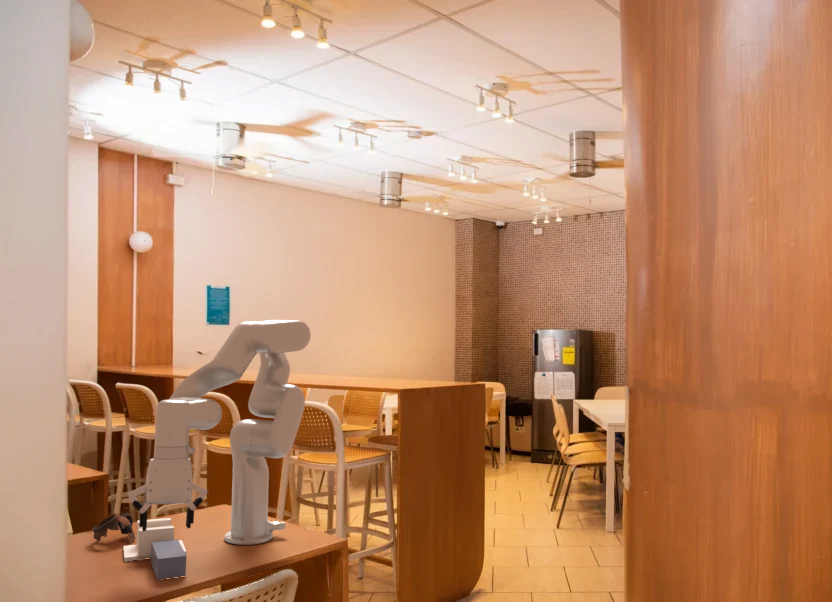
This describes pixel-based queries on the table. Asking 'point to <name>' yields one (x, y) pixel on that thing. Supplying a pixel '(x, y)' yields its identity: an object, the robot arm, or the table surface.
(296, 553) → the table surface
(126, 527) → the pottery mug
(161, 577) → the blue-grey rectangular block
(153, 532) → the display stand
